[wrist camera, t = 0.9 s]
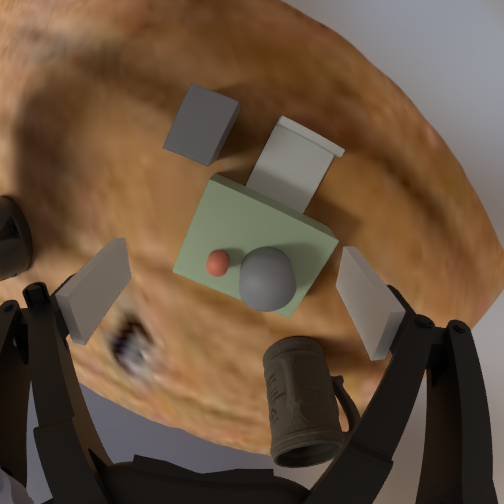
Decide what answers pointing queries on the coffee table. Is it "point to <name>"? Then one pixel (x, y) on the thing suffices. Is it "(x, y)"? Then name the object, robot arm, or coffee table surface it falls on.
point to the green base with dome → (264, 225)
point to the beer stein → (304, 404)
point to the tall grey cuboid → (202, 125)
